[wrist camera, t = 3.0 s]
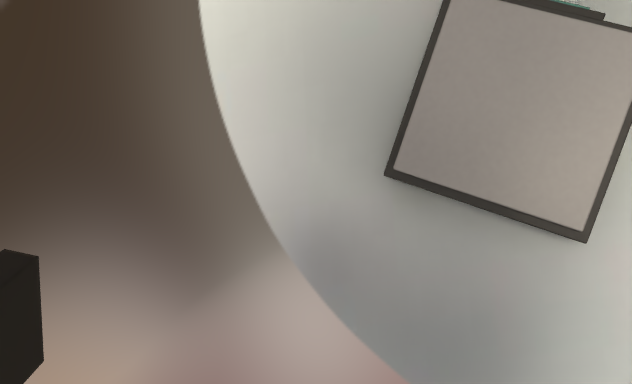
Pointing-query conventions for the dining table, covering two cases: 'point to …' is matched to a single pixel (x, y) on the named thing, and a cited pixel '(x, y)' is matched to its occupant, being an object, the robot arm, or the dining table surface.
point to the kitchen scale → (519, 111)
